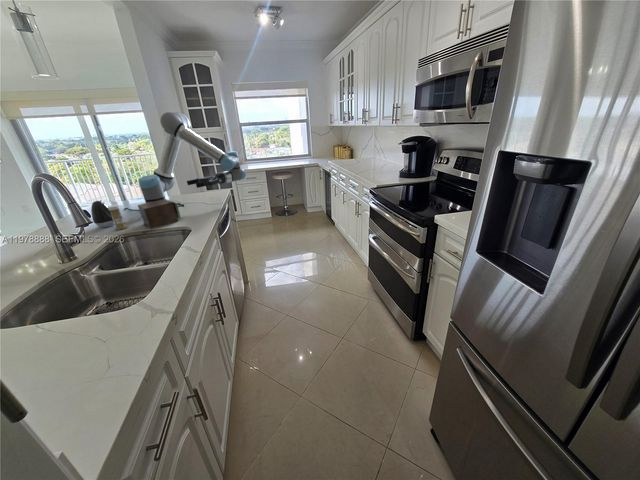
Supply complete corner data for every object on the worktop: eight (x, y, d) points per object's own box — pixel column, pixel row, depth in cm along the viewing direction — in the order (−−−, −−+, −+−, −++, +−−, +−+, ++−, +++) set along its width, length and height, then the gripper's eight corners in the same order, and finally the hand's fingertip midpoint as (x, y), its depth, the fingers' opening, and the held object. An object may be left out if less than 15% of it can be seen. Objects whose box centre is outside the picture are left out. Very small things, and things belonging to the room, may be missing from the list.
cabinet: (170, 216, 161) (164, 198, 156) (178, 221, 153) (172, 202, 148) (144, 223, 151) (137, 205, 146) (151, 228, 143) (144, 208, 138)
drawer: (181, 212, 164) (177, 197, 160) (188, 216, 157) (184, 200, 153) (150, 221, 152) (144, 205, 148) (156, 225, 145) (151, 208, 141)
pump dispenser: (120, 221, 158) (110, 197, 151) (114, 227, 149) (103, 201, 142) (101, 224, 155) (90, 199, 148) (93, 230, 146) (81, 204, 139)
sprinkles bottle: (123, 229, 144) (114, 206, 138) (115, 230, 144) (105, 207, 138) (128, 226, 148) (119, 204, 143) (119, 227, 148) (110, 205, 142)
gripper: (234, 185, 166) (202, 192, 153) (215, 181, 182) (185, 187, 168) (231, 173, 163) (198, 180, 149) (213, 170, 179) (182, 176, 165)
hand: (191, 184), depth 159 cm, fingers open, 13 cm apart
